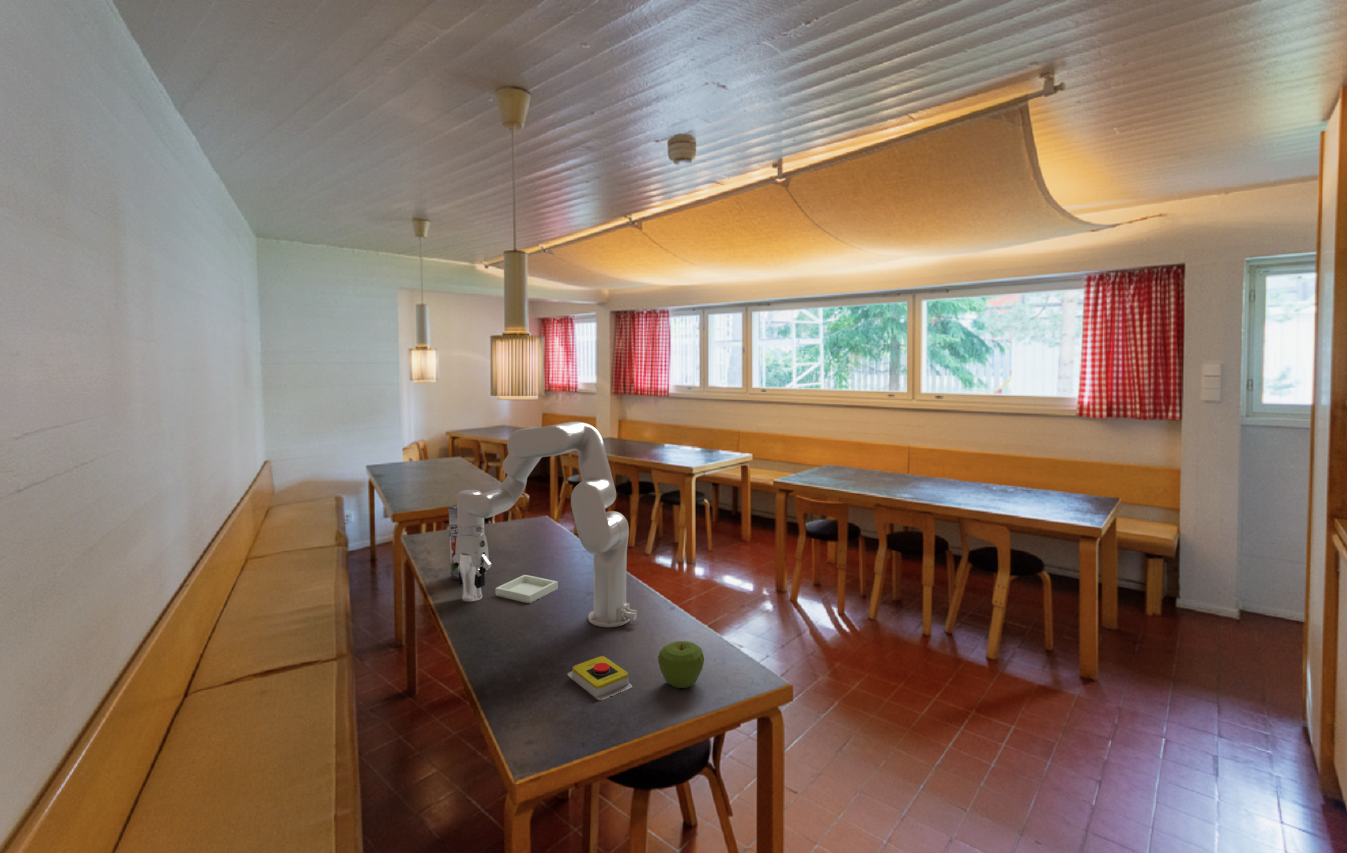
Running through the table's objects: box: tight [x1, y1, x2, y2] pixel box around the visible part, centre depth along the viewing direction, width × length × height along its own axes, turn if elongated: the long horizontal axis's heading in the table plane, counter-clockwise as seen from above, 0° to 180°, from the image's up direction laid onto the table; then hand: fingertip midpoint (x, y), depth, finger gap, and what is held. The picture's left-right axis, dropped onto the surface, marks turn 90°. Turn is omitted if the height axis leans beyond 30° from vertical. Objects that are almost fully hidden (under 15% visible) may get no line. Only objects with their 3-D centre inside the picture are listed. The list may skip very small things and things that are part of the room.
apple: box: [657, 640, 705, 689], centre depth 136 cm, size 11×10×10 cm
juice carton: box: [448, 503, 485, 581], centre depth 203 cm, size 9×10×27 cm
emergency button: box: [566, 655, 633, 701], centre depth 137 cm, size 9×4×15 cm
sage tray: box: [495, 574, 559, 604], centre depth 191 cm, size 14×14×2 cm
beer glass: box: [460, 553, 483, 603], centre depth 185 cm, size 7×7×15 cm
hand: (471, 584), depth 186 cm, fingers closed on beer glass, 6 cm apart
